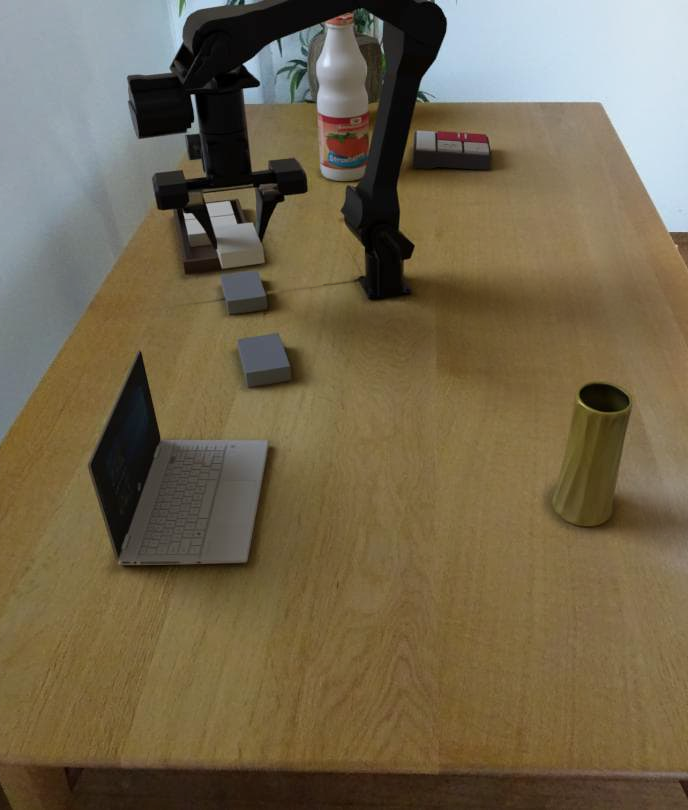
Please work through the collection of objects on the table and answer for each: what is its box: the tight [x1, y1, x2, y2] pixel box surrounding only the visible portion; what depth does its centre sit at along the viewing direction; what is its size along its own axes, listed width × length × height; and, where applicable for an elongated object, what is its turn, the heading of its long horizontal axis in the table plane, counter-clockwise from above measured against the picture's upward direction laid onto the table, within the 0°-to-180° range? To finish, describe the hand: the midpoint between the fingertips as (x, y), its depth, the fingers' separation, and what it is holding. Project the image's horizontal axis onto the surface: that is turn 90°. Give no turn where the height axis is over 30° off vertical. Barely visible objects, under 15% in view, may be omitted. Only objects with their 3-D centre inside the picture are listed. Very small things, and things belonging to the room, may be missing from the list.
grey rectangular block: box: [219, 269, 268, 316], centre depth 117 cm, size 8×6×2 cm
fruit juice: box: [316, 12, 370, 182], centre depth 147 cm, size 9×9×28 cm
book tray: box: [172, 198, 260, 275], centre depth 131 cm, size 21×11×2 cm, turn 17°
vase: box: [552, 380, 633, 527], centre depth 79 cm, size 6×6×14 cm
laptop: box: [87, 349, 270, 566], centre depth 80 cm, size 18×12×13 cm
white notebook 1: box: [183, 201, 234, 229], centre depth 136 cm, size 8×6×2 cm
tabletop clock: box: [306, 9, 384, 105], centre depth 172 cm, size 14×9×25 cm, turn 130°
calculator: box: [412, 130, 492, 171], centre depth 160 cm, size 11×4×15 cm
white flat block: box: [213, 222, 266, 270], centre depth 107 cm, size 8×6×2 cm
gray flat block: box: [236, 332, 292, 388], centre depth 103 cm, size 8×6×2 cm
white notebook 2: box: [186, 215, 237, 247], centre depth 131 cm, size 8×6×2 cm
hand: (238, 245), depth 107 cm, fingers closed on white flat block, 5 cm apart
